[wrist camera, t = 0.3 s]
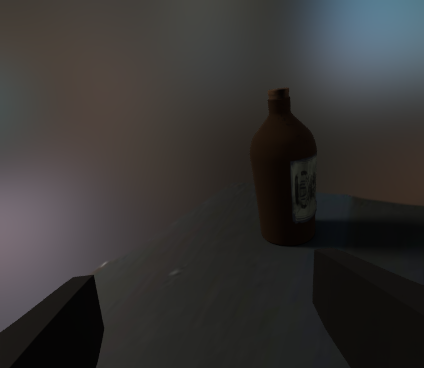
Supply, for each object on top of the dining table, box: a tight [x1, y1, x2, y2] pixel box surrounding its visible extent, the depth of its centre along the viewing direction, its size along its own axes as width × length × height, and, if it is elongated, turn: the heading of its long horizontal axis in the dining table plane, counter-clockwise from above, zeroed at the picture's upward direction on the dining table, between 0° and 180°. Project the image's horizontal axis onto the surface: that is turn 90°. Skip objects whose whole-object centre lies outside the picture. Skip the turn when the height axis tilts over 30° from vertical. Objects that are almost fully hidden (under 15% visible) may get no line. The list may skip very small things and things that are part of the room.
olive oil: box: [250, 88, 317, 246], centre depth 49 cm, size 11×11×25 cm
